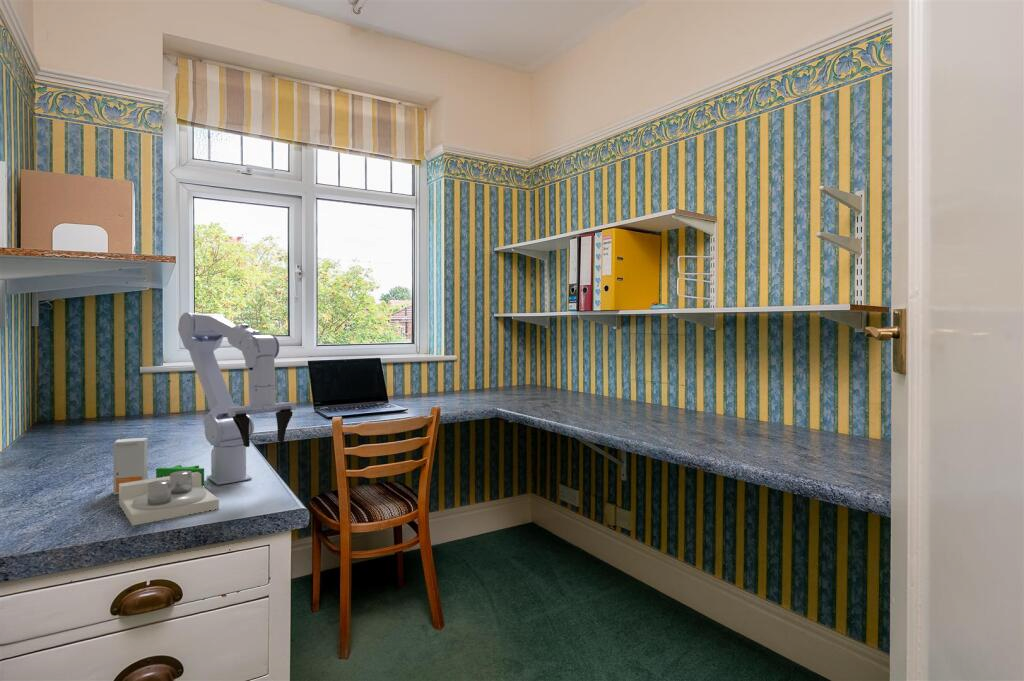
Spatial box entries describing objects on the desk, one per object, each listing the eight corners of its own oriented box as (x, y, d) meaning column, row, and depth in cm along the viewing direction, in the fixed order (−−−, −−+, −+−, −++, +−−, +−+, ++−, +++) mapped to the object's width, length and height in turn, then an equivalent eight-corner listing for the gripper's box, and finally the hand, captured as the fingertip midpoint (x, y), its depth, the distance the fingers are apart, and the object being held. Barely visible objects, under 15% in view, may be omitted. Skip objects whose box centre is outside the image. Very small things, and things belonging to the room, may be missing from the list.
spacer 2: (167, 491, 119) (167, 473, 119) (188, 487, 122) (188, 469, 122) (173, 495, 116) (172, 476, 116) (194, 491, 119) (194, 473, 119)
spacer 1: (145, 502, 112) (145, 482, 112) (168, 498, 114) (168, 478, 114) (149, 507, 109) (149, 486, 109) (173, 502, 112) (172, 482, 111)
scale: (119, 504, 118) (118, 483, 118) (198, 491, 128) (197, 471, 128) (132, 525, 106) (132, 502, 106) (218, 509, 116) (218, 487, 116)
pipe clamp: (210, 484, 135) (211, 465, 135) (201, 488, 131) (201, 469, 131) (166, 482, 136) (166, 464, 136) (156, 487, 132) (156, 468, 132)
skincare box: (112, 495, 125) (112, 442, 125) (117, 490, 129) (117, 438, 129) (144, 492, 127) (144, 440, 127) (148, 487, 131) (148, 437, 131)
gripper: (233, 389, 123) (235, 450, 123) (299, 384, 133) (301, 441, 133) (224, 388, 129) (226, 447, 129) (288, 383, 138) (290, 438, 138)
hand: (264, 443), depth 131 cm, fingers open, 7 cm apart
